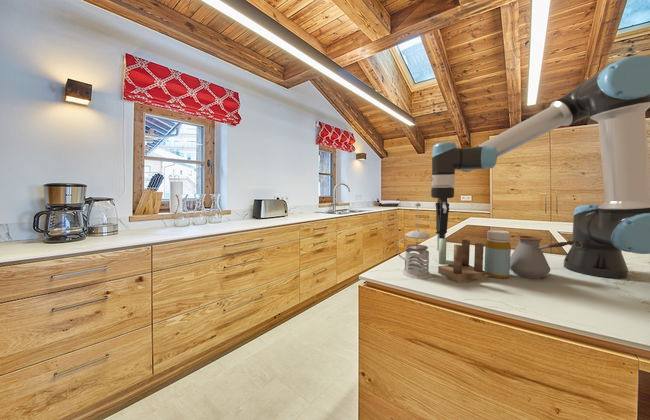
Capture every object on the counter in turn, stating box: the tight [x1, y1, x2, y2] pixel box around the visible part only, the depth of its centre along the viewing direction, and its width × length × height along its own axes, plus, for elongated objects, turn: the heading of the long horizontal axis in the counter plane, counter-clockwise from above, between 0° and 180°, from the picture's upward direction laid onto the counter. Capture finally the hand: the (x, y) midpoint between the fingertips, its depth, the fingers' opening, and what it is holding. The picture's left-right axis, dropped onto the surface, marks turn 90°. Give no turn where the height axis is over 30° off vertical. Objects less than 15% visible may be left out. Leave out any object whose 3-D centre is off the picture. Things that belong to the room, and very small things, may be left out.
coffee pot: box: [510, 235, 582, 279], centre depth 78 cm, size 21×12×15 cm, turn 3°
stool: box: [437, 239, 487, 283], centre depth 82 cm, size 11×9×12 cm
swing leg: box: [438, 238, 454, 266], centre depth 86 cm, size 7×2×9 cm, turn 65°
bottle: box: [483, 229, 512, 279], centre depth 82 cm, size 7×7×15 cm
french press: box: [396, 202, 432, 280], centre depth 85 cm, size 10×12×25 cm
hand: (440, 250), depth 91 cm, fingers closed
